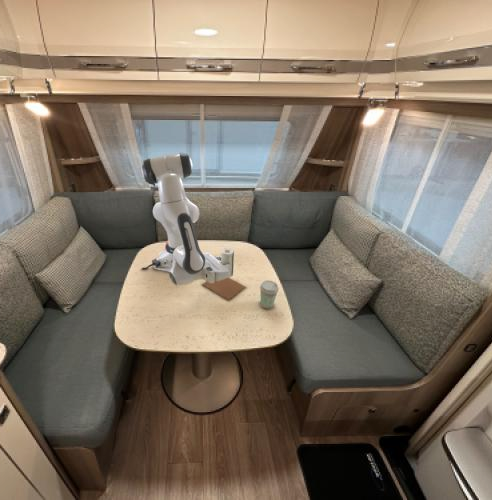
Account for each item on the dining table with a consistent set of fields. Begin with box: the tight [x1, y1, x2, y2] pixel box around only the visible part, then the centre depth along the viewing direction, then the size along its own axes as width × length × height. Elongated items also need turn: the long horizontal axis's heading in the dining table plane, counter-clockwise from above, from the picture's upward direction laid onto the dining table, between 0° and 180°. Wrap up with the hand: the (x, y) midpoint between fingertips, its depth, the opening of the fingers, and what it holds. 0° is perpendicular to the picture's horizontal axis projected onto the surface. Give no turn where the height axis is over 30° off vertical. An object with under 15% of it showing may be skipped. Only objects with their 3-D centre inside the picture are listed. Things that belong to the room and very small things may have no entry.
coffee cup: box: [259, 280, 280, 310], centre depth 127 cm, size 9×8×12 cm
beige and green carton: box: [220, 247, 235, 279], centre depth 134 cm, size 6×6×14 cm
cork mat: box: [201, 277, 246, 301], centre depth 142 cm, size 18×14×1 cm
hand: (226, 261), depth 133 cm, fingers closed on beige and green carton, 6 cm apart
